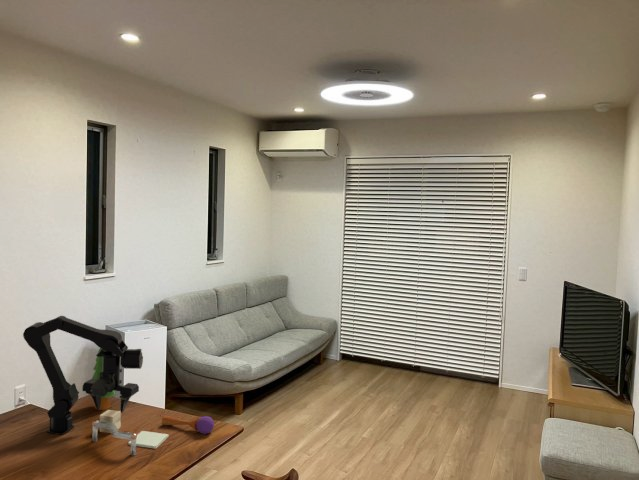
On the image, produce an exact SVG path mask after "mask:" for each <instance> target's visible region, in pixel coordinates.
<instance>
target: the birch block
mask: <svg viewBox="0 0 639 480" xmlns="http://www.w3.org/2000/svg"><path fill="white" fill-rule="evenodd" d="M121 417H122V413H121V410H113V409H106V411H104V412H102V413H101V414H100V415H99V421H105V422H112V423H114V424H115V425H116V427H117V429H118V430H119V429H120V428H121V426H122V425H121V422H122V418H121ZM99 432H100V433H107V434H112V433H111V431H110V430H109V429H105V428H99Z"/></svg>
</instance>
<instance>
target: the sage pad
mask: <svg viewBox="0 0 639 480" xmlns="http://www.w3.org/2000/svg"><path fill="white" fill-rule="evenodd" d="M136 435H137V438H136V447H140V448H141V447H142V448H148V449H149V448H150V449H154V450H155V449H156V450H157V448H158V447H159V446H161V444H163V443H164V441H165V440H167V439H168V438H169V434H167V433H160V432H155V431H154V432H153V431H147V430H146V431H145V430H141V431H140V432H138V433H137V434H136ZM127 443H128V445H127V446H131V440H128V442H127Z"/></svg>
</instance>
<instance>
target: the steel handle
mask: <svg viewBox="0 0 639 480" xmlns="http://www.w3.org/2000/svg"><path fill="white" fill-rule="evenodd" d="M91 426H92V433H91V434H92V438H91V440H92V441H91V442H92V443H95V442H98V434H99V433H98V430H99V429H100V428H105V429H109V430H110V431H111V433H110V434H111V435H112V436H113V438H115V439H122V440H128V441H131V445H130V456H132V457H134V456H136V455H137V446H136V438H137V435H138V434H137V433H135V432H129V431H128V432H127V431H121V430H119V429H117V427H116V425H115V424H114V423H112V422H105V421H100V420H94V421H92V423H91Z"/></svg>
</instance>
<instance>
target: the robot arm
mask: <svg viewBox="0 0 639 480" xmlns="http://www.w3.org/2000/svg"><path fill="white" fill-rule="evenodd" d="M57 330H58V331H62V332H65V333H68V334H71V335H74V336H76V337H79V338H81V339H85V340H87V341H90V342H92V343H94V344H95V345H96V346H97V347H98V348H99V349H100V348H102V349H101V351H100V352H99V353H98V352H97V354H96V355H95V356H96V358H97V357H103V369H102V372H100V377H99V379H92V378H91V379H89V380H86V381H85V382H84V383H83V384H82V389H81V390H82V392H85V393H86V394H88V395H89V396H91V398H92V400H93V403H94V407H95V406H96V408H97V409H96V408H95V409H96V410H98V411H99V409H100V405H101V396H105V395H106V394H107V392H112V391H113V390H114V391H115V392H119V394H120V396H119V399H120V411H121V414H123V413H124V411H125V409H126V407H127V405H128V402H129V401H130V399H131V397H133V396H134V395H136V394H137V393H138V392H139V391H140V389H139V388H140V387H139V385H138V383H132V382H128V383H126V384H125V385H120V384H122V379H120V378H121V377H120V376H121V373H122V372H123V369H126V370H127V369H137V370H138V369H140V370H141V369H142V367H143V362H144V356H143V351H142V348H135V349H133V348H132V349H130V348H129V346H128V345H127V344H126V343H125V342H124V340H123V337H122V334H121V333H120V332H119V331H116V330H110V329H101V328H95V327H93V326H90V325H87V324H85V323H82V322H81V321H76V320H74V319H70V317H69V318H68V317H66V316H65V315H58V316H57V317H55V318H53V319H50V320H47V321H44V322H43V321H42V322H40V321H38V322H35V323H33V324H32V325H29V326H28V327H27V328H25V329H24V331H23V334H22V337H23V339H24V341H25V342H26V344H27V345H28V346H29V348H31V349H32V350H34V351H35V352H36V354H37V356H38V359H39V361H40V363H41V365H42V368H43V370H44V373H46V377H47V379H48V381H49V383H50V385H51V387H52V401H53V403H54V405H53V406H52V407H51V408H50V409H49V410H48V411H47V413H46V414H47V416H48V418H49V429H46V433H48V434H56V435H64V434H65V433H67V432H69V431H70V430H72V429H73V428H75V425H74V424H73V416H72V411H70V410H71V409H72V408H73V407H74V406H75V404H76V403H77V402H78V400H79V393H80V391H79V390H78V389H77V386H76V383H72V384H70V382H68V381H67V380H66V378H65V374H64V373H63V370H62V368H61V366H60V364H59V362H58V359H57V356H56V354H55V352H54V349H52V348H53V347H52V346H51V333H53V332H56V331H57ZM122 368H123V369H122Z"/></svg>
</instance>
